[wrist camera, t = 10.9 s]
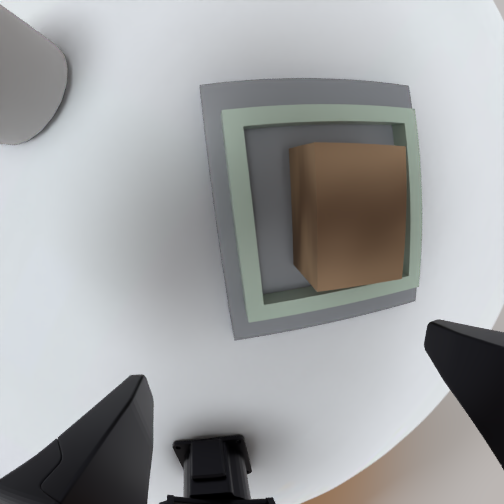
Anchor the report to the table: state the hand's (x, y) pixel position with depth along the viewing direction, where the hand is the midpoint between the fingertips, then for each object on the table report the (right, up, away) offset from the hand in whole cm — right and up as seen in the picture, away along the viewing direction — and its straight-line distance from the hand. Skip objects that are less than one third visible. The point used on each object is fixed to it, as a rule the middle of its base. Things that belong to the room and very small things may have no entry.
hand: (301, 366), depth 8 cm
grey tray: (+3, +6, +11) cm, 13 cm away
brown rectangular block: (+3, +6, +10) cm, 12 cm away
